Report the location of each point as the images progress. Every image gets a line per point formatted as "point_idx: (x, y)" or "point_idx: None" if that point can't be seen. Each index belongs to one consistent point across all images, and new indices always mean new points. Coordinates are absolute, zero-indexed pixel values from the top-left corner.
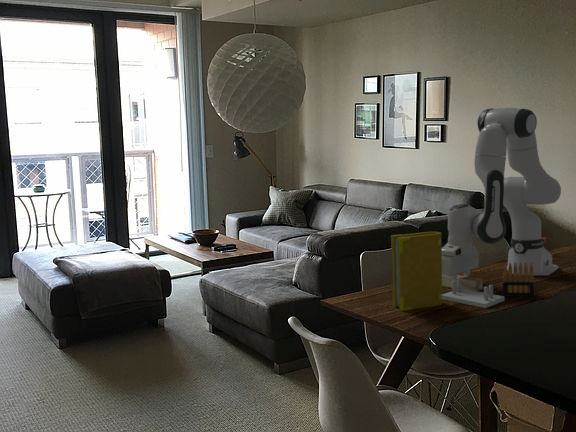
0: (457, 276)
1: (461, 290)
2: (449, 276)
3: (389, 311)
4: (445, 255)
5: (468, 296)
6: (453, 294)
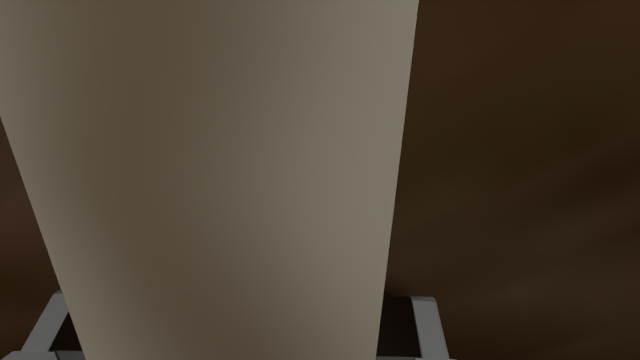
0: (263, 344)
1: None
2: (130, 234)
3: None
4: None
5: None
6: None
